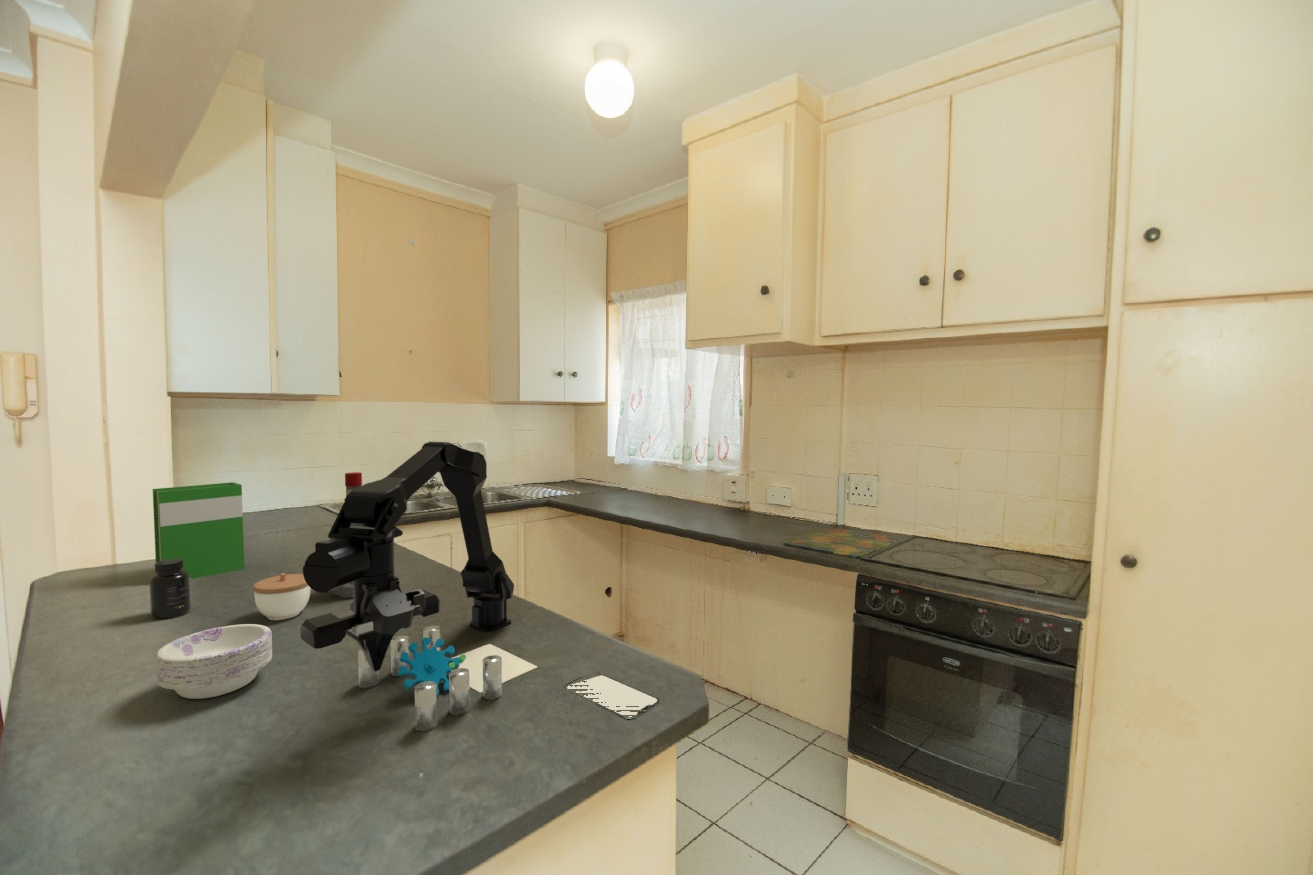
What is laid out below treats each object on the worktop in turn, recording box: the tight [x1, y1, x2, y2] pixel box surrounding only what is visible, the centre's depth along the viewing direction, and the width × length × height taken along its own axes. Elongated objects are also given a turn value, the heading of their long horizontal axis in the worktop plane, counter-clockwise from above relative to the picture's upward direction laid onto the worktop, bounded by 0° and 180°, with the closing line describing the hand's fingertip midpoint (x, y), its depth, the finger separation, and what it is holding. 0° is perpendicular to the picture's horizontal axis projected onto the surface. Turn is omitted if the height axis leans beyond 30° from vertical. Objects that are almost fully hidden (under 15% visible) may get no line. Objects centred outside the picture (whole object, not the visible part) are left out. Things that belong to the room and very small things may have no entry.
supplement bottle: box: [148, 559, 192, 620], centre depth 125 cm, size 7×7×12 cm
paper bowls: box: [155, 623, 273, 700], centre depth 94 cm, size 15×15×8 cm
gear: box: [398, 637, 466, 697], centre depth 95 cm, size 11×6×10 cm
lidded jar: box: [252, 572, 312, 621], centre depth 125 cm, size 11×11×9 cm
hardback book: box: [152, 481, 245, 579], centre depth 154 cm, size 18×7×24 cm, turn 141°
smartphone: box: [563, 671, 661, 720], centre depth 93 cm, size 8×1×16 cm
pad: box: [452, 643, 538, 694], centre depth 102 cm, size 12×15×1 cm
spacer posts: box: [357, 625, 503, 732], centre depth 94 cm, size 14×22×6 cm, turn 51°
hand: (376, 670), depth 87 cm, fingers closed
